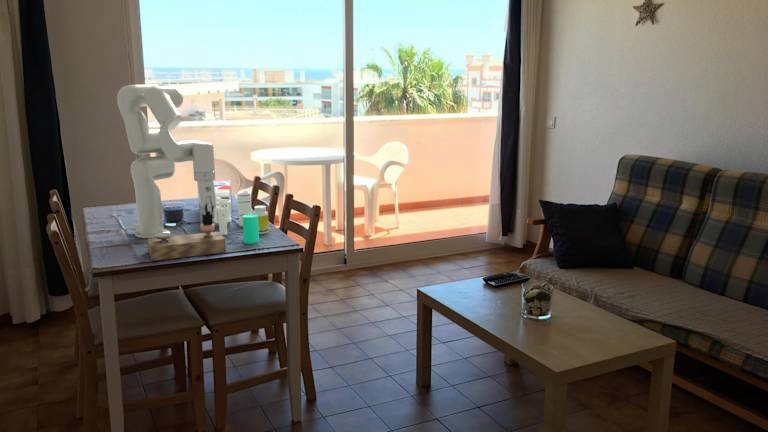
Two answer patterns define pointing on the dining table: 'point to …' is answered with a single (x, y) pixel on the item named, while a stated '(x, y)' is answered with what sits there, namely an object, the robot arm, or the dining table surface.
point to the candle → (250, 229)
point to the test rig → (186, 246)
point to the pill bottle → (262, 219)
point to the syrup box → (244, 205)
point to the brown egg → (207, 229)
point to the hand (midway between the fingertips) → (207, 224)
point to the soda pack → (222, 192)
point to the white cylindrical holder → (222, 214)
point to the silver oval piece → (163, 235)
